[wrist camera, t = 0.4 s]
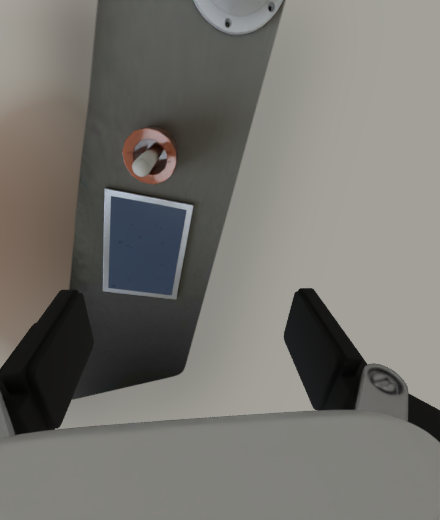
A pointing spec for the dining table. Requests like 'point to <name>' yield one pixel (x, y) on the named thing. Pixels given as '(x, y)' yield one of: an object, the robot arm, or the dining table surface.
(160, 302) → the dining table surface
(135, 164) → the stylus
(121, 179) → the dining table surface
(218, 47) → the dining table surface
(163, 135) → the holder
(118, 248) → the tablet
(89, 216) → the dining table surface
